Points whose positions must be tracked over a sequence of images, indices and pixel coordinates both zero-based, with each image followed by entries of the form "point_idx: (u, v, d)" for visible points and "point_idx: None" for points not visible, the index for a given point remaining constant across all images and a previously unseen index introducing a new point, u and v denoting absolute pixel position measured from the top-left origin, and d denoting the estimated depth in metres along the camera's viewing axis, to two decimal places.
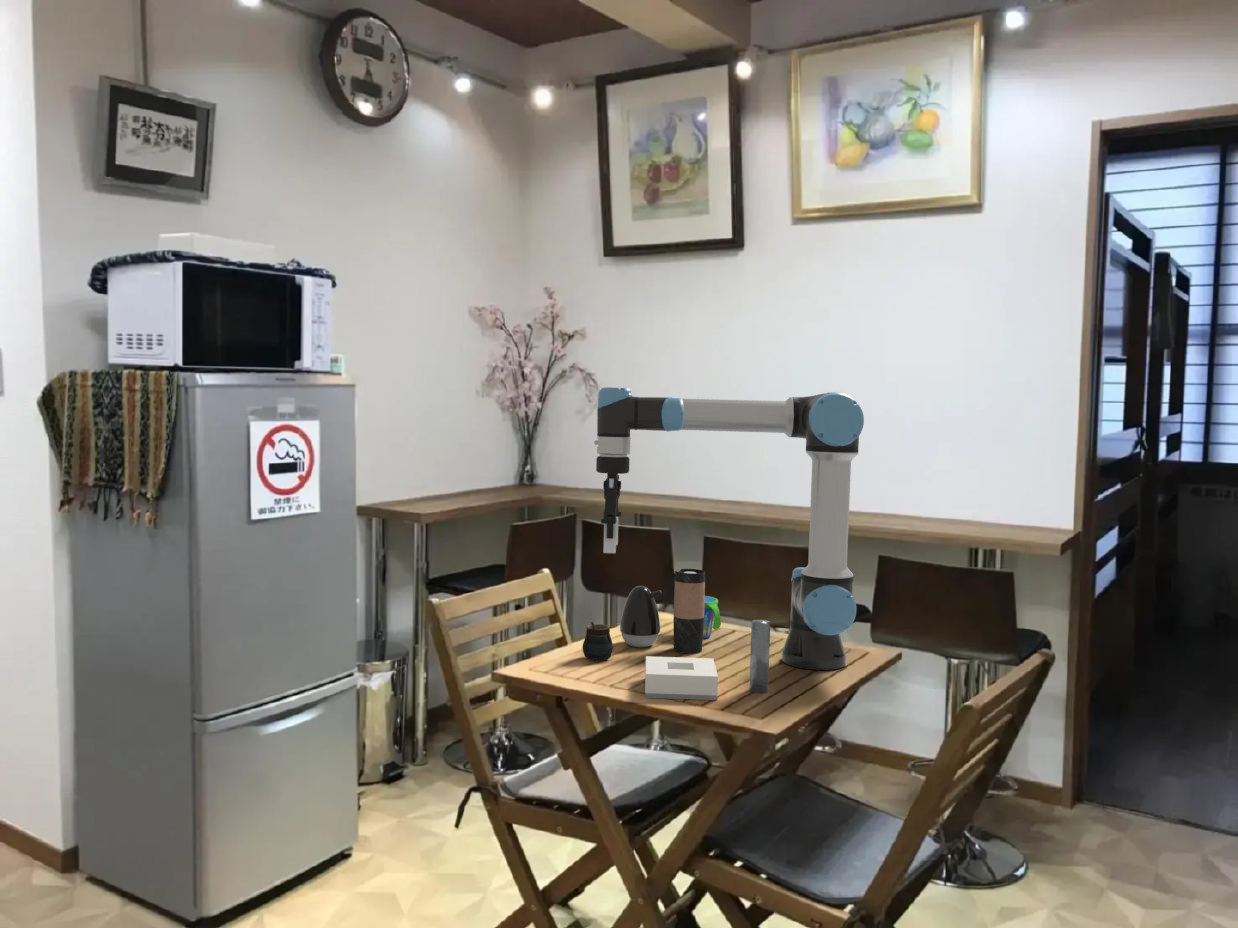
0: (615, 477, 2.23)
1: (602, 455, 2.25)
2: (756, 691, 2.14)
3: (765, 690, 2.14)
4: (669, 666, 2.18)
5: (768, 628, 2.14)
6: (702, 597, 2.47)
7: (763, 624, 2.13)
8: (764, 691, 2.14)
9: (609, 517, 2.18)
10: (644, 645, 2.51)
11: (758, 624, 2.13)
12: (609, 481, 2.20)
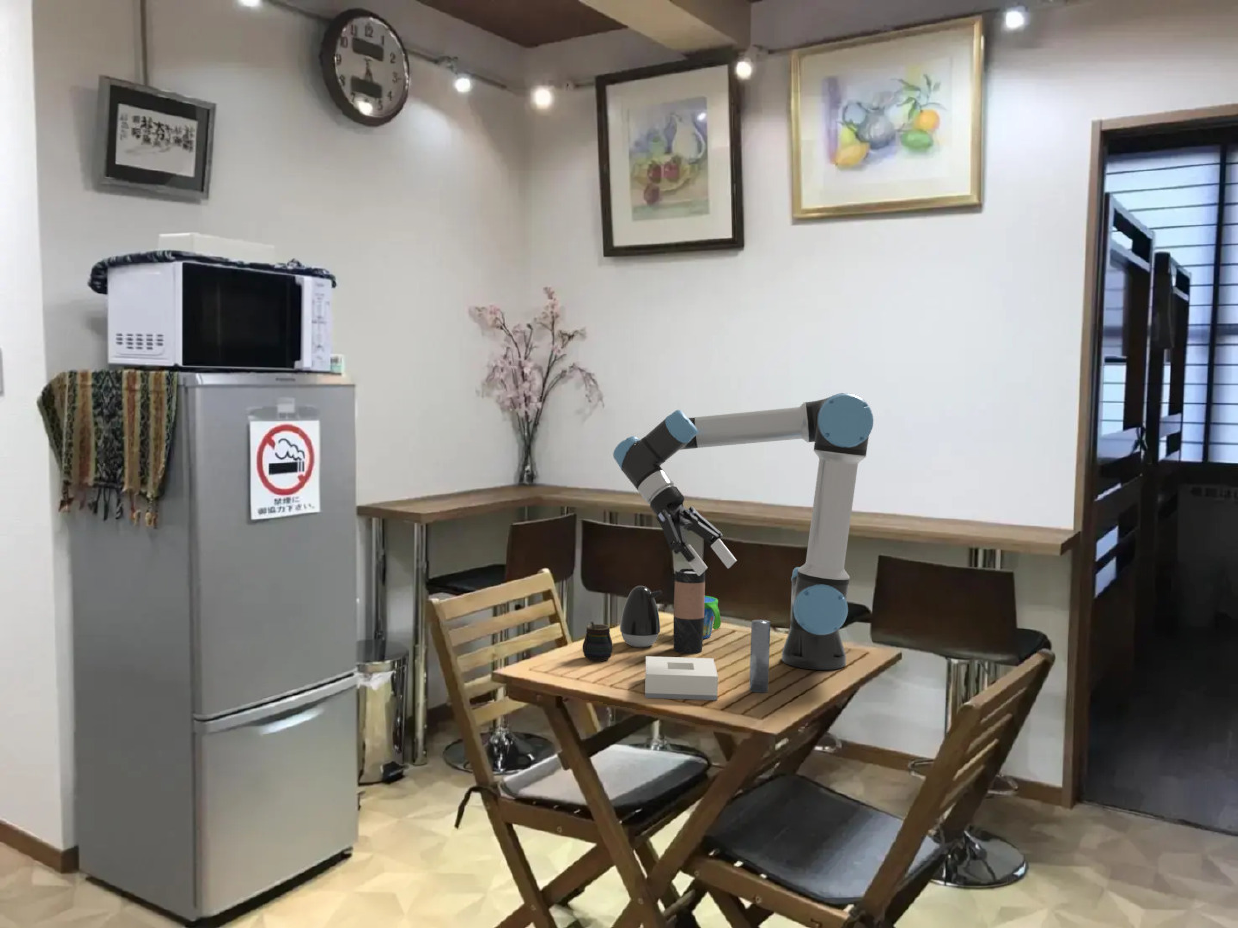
0: (667, 509, 2.23)
1: (650, 502, 2.27)
2: (756, 691, 2.14)
3: (765, 690, 2.14)
4: (669, 666, 2.18)
5: (768, 628, 2.14)
6: (702, 597, 2.47)
7: (763, 624, 2.13)
8: (764, 691, 2.14)
9: (672, 543, 2.15)
10: (644, 645, 2.51)
11: (758, 624, 2.13)
12: (659, 516, 2.21)
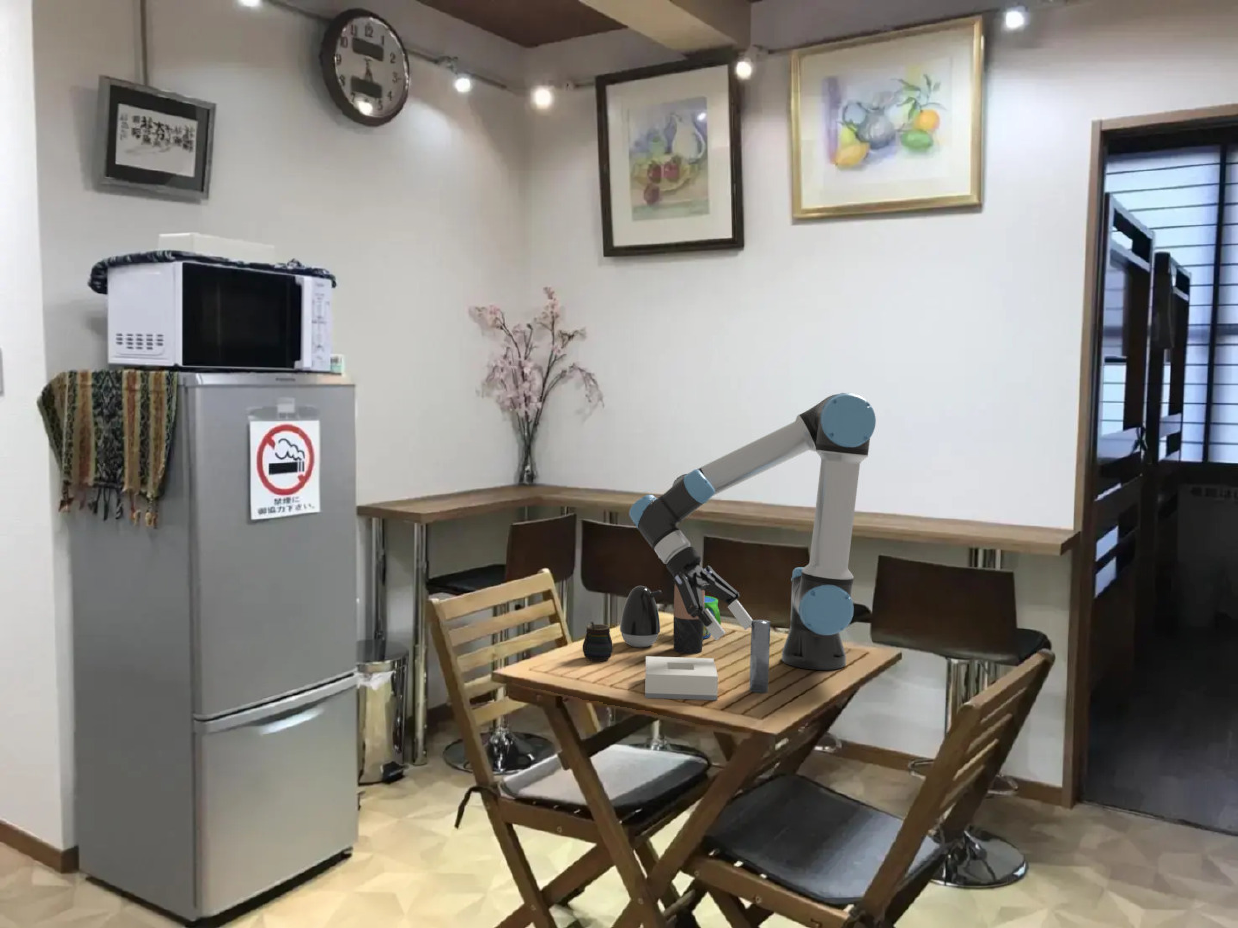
0: (684, 571, 2.20)
1: (667, 562, 2.25)
2: (756, 691, 2.14)
3: (765, 690, 2.14)
4: (669, 666, 2.18)
5: (768, 628, 2.14)
6: (702, 597, 2.47)
7: (763, 624, 2.13)
8: (764, 691, 2.14)
9: (690, 608, 2.13)
10: (644, 645, 2.51)
11: (758, 624, 2.13)
12: (676, 579, 2.18)
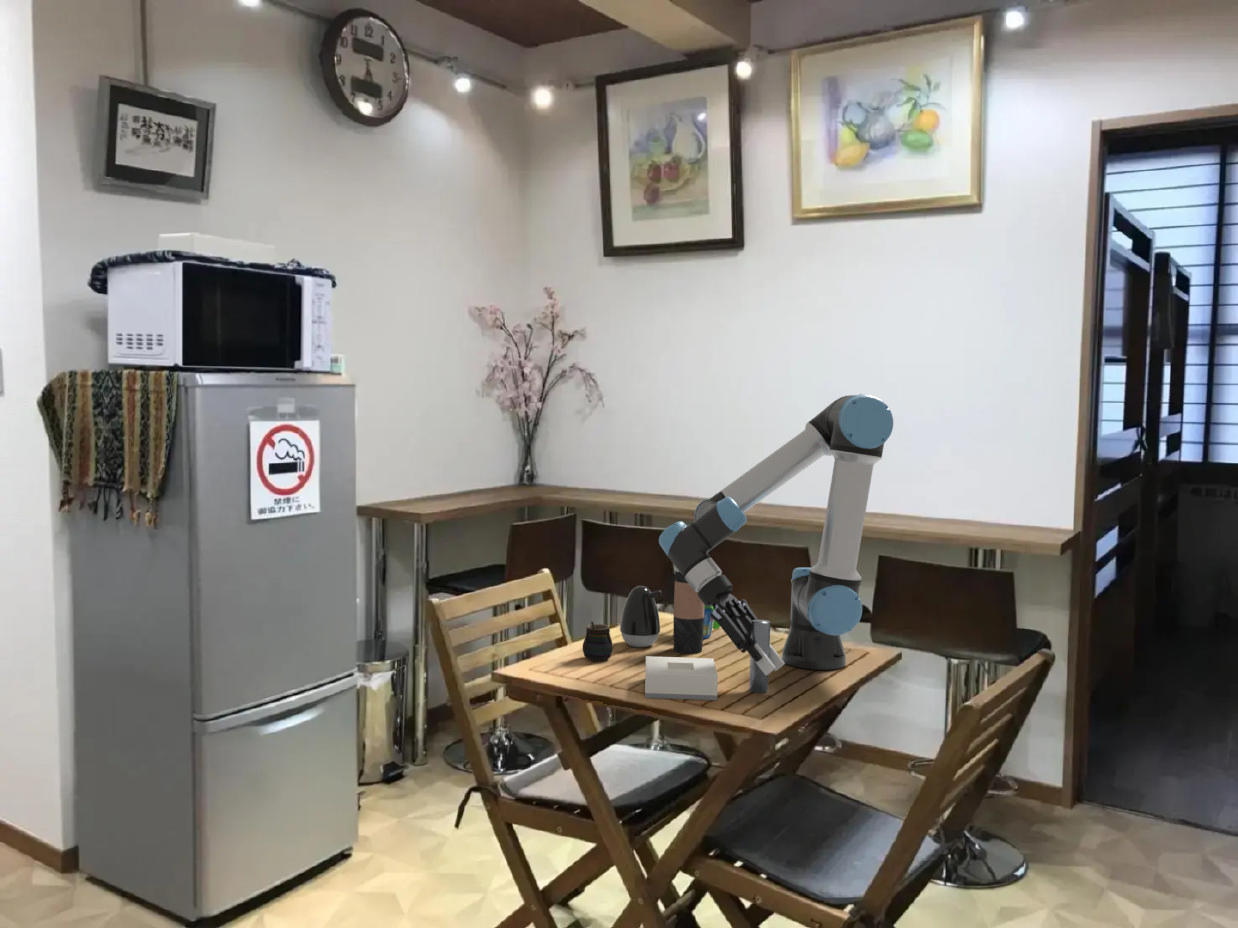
0: (717, 600, 2.17)
1: (698, 591, 2.21)
2: (756, 691, 2.14)
3: (765, 690, 2.14)
4: (669, 666, 2.18)
5: (768, 628, 2.14)
6: None
7: (763, 624, 2.13)
8: (764, 691, 2.14)
9: (740, 643, 2.12)
10: (644, 645, 2.51)
11: (758, 624, 2.13)
12: (714, 615, 2.14)
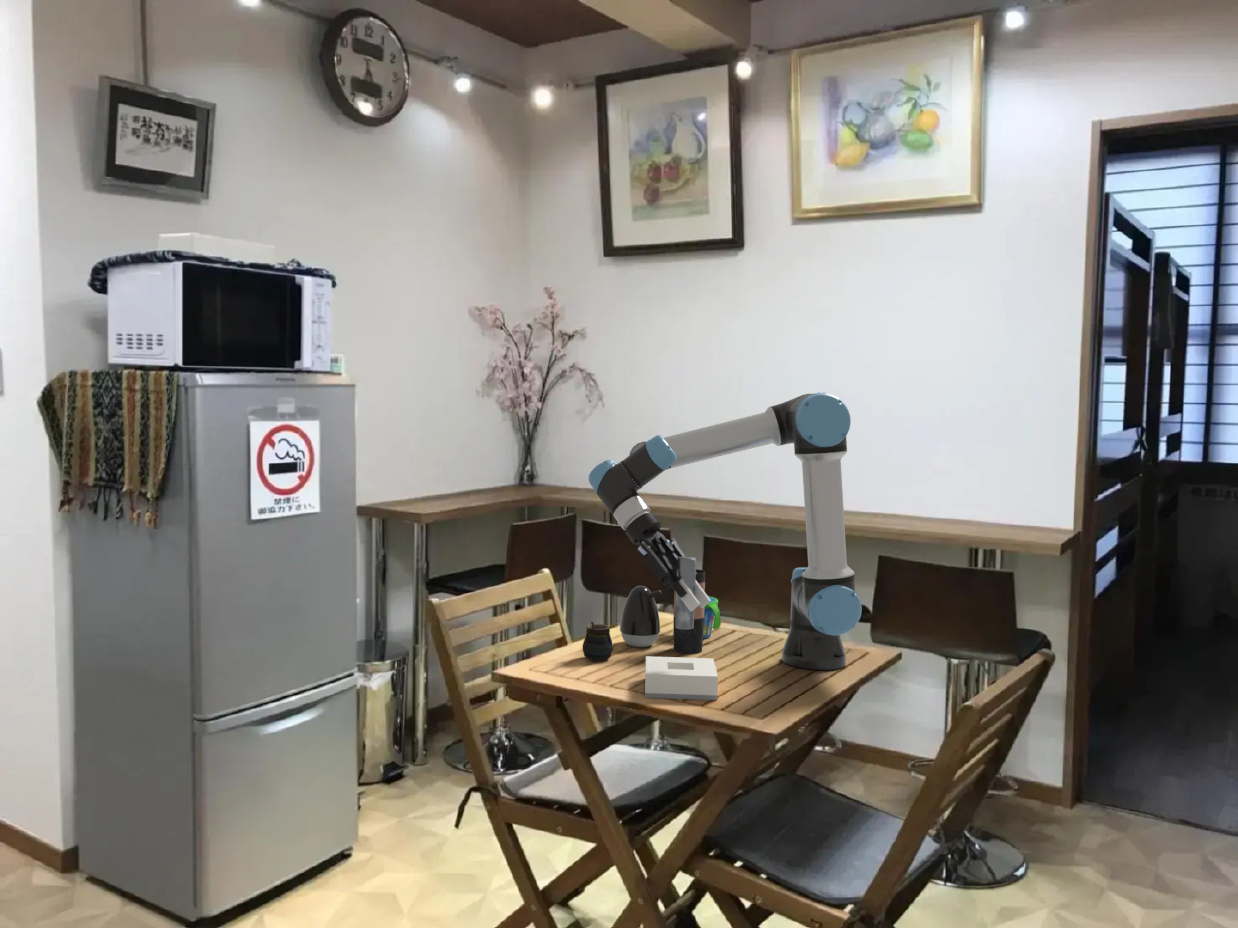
0: (643, 537, 2.16)
1: (626, 528, 2.20)
2: (681, 627, 2.13)
3: (690, 627, 2.13)
4: (669, 666, 2.18)
5: (694, 564, 2.13)
6: None
7: (688, 560, 2.12)
8: (689, 628, 2.13)
9: (664, 579, 2.11)
10: (644, 645, 2.51)
11: (683, 560, 2.12)
12: (639, 551, 2.13)
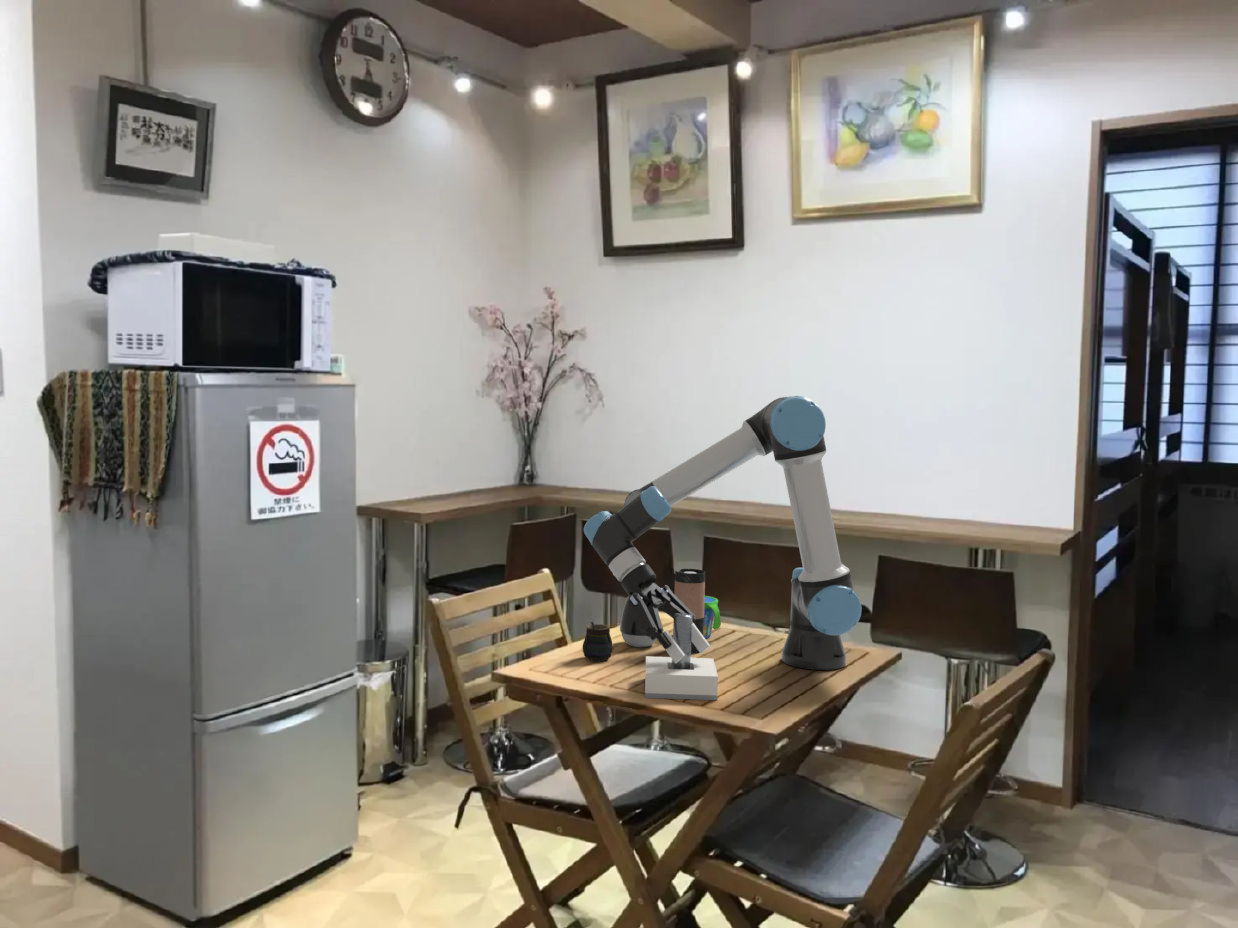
0: (638, 589, 2.16)
1: (621, 580, 2.21)
2: None
3: None
4: (669, 666, 2.18)
5: (690, 622, 2.13)
6: (702, 597, 2.47)
7: (684, 617, 2.13)
8: None
9: (649, 630, 2.09)
10: (644, 645, 2.51)
11: (679, 617, 2.13)
12: (631, 600, 2.14)
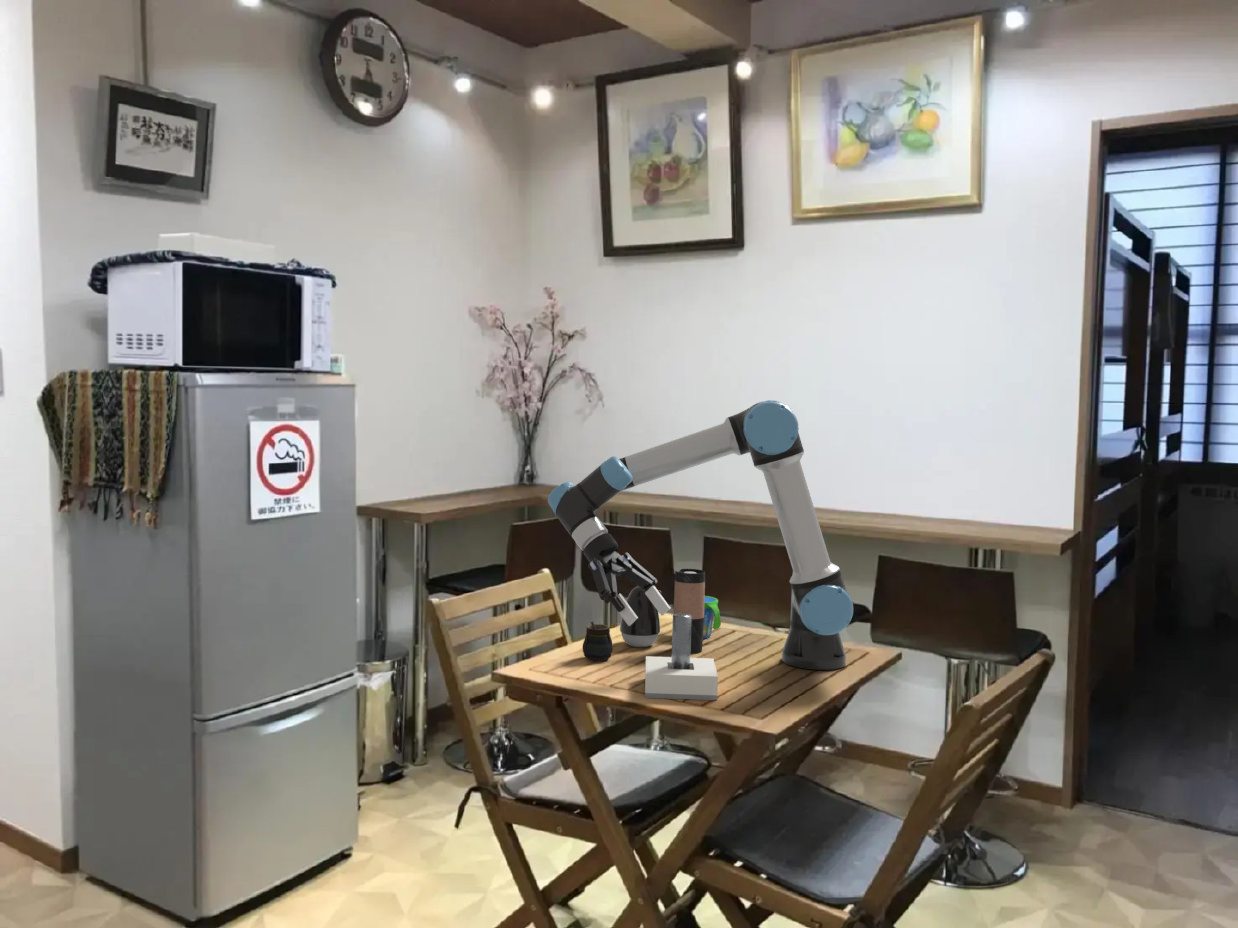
0: (600, 557, 2.21)
1: (584, 549, 2.26)
2: None
3: None
4: (669, 666, 2.18)
5: (689, 622, 2.13)
6: (702, 597, 2.47)
7: (683, 618, 2.13)
8: None
9: (602, 593, 2.14)
10: (644, 645, 2.51)
11: (679, 618, 2.13)
12: (590, 565, 2.19)
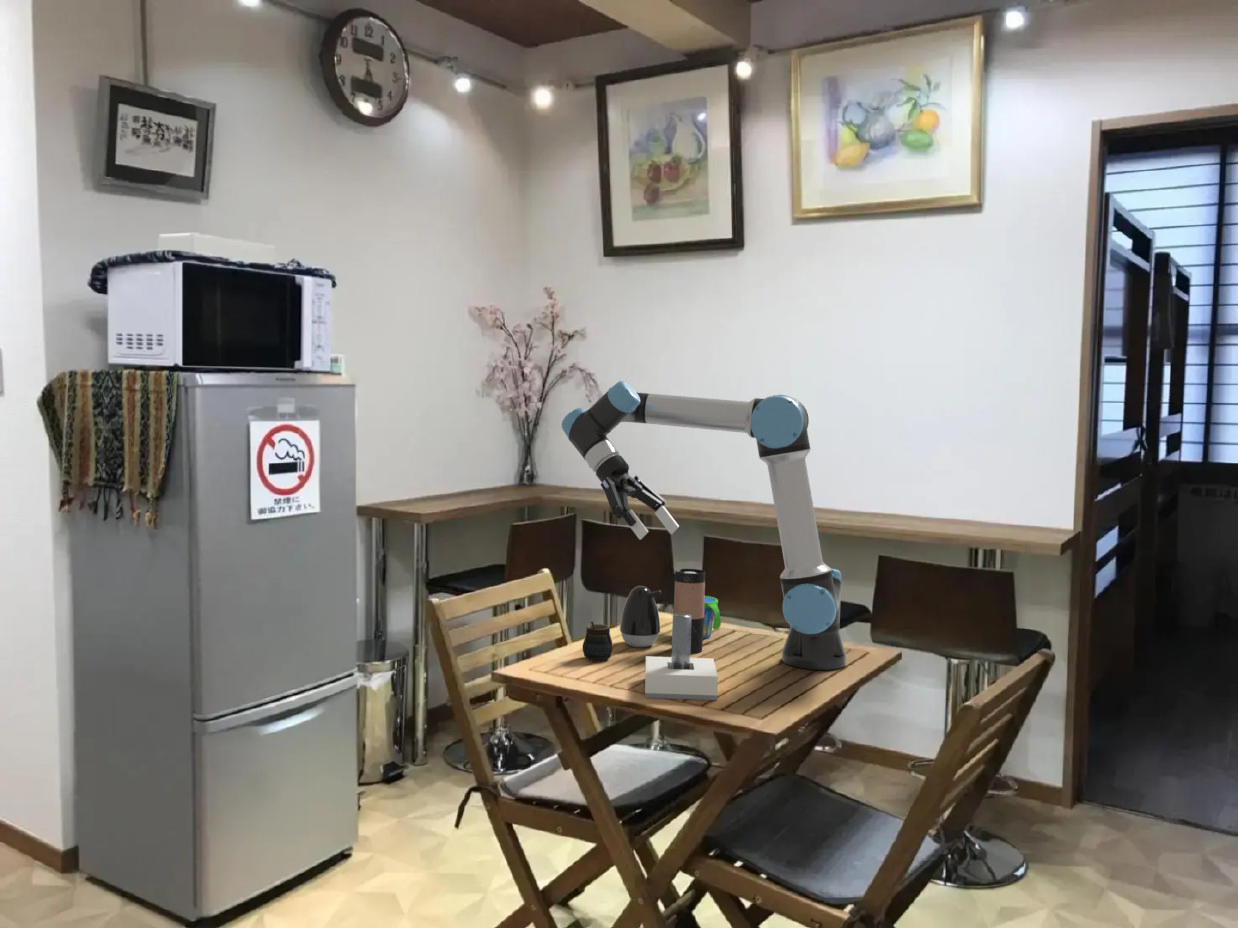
0: (612, 477, 2.32)
1: (596, 470, 2.36)
2: None
3: None
4: (669, 666, 2.18)
5: (689, 622, 2.13)
6: (702, 597, 2.47)
7: (683, 618, 2.13)
8: None
9: (615, 509, 2.24)
10: (644, 645, 2.51)
11: (678, 618, 2.13)
12: (603, 483, 2.30)
